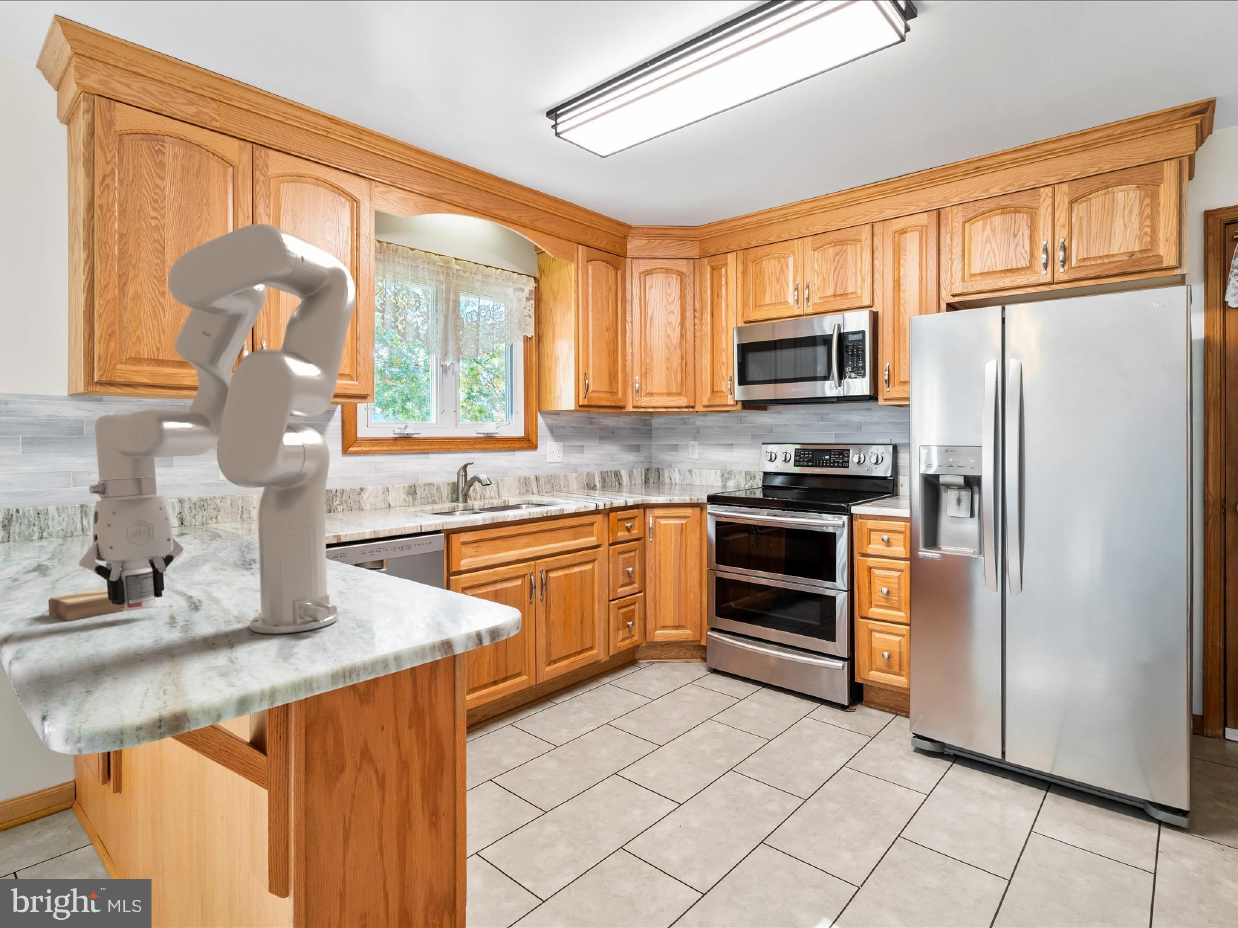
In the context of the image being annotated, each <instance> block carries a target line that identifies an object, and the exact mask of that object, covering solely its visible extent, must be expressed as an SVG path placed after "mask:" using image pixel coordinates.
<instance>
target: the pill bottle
mask: <svg viewBox="0 0 1238 928" xmlns="http://www.w3.org/2000/svg"><path fill="white" fill-rule="evenodd" d="M119 576H120V580H123V585H124V598H125V603H124V604H122V605H120V609H121V610H123V611H122V612H124V611H126V612H130V611H131V612H132V611H140V610H144V609H148V608H151V607H154V606H155V605H156V597H155V594H154V582H153V570H152V568H151V567H150V566H149V557H148V558H142V559H135V560H128V561H122V565H121V570H120V574H119Z"/></svg>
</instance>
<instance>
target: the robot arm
mask: <svg viewBox="0 0 1238 928" xmlns="http://www.w3.org/2000/svg"><path fill="white" fill-rule="evenodd" d="M167 283H168V289H169V291H170V292H169V293H170V294H171V295H172V297H173V298H174V299H175V300H176V301H177V302H178V303H179V304H181V305H183V306H185V307H188V308H191V309H190V311H189V313H188V315H187V317H186V319H185V321H184V324H183V325H182V327H181V329H180V331H179V333H178V335H177V338H176V339H175V341H174V343H173V344H174V349H175V352H176V353H177V355H178V356H179V357H180V358H182V359H183V360H184V361H185V362H187V363H188V364H190V365H191V366H193V368H194V369H195V371H196V374H197V378H198V387H197V390H196V391H197V392H196V394H195V397H194V399H193V401H192V402H191V405H190V407H189V408H188V410H174V409H173V410H171V409H167V410H163V409H162V410H161V409H146V410H138V411H136V412H131V413H125V414H123V413H122V414H121V413H120V414H119V413H117V414H105V415H101V416H100V417H98V418H97V419H96V420H95V422H94V432H95V442H96V443H95V445H96V455H97V456H96V457H97V469H98V471H97V472H98V481H97V484H92V485H89V487H88V488H89V489H88V491H89V493H90V494H91V495H93V494H95V495H98V497H99V498H100V500H96V502H95V506H94V512H93V521H92V545H91V546H90V547H89V548H88V550H87V551H86V553H85V554H84V555H83V556H82V558H81V559H80V561H79V563H78V564H79V566H81V567H82V568H85V569H87V570H89V571H92V572H94V574H97V575H98V576H99V577H101V578H102V579H104V580H106V587H107V589H106V590H108V599H109V600H110V601H111V602H112V604H116V605H122V604H124V603H125V598H124V585H123V580H120V576H119V574H120V570H121V565H122V561H128V560H135V559H142V558H148V557H149V564H148V566H149V567H151V568H152V570H153V582H154V594H155V598H162V597H163V591H164V590H165V581H164V580H165V579H164V578H165V577H164V573H165V572H166V571H167V568H168V567H169V566H170V564H171V563H173V561H174V560H175V558H177V557H178V556H179V555H180V554H182V552H183V551H184V547H183V546H182V545H181V544H180V543H179V542H178V541H177V540H176V539H175V538H174V537H173V532H172V531H173V530H172V524H171V520H170V514H169V511H168V508H167V504H166V501H165V499H164V496H163V495H158V493H157V492H158V490H157V478H156V475H157V474H156V463H155V458H169V457H170V458H171V457H185V456H186V457H190V456H192V457H194V456H201V455H203V454H206V453H208V452H209V451H211V450H212V449H213V448H214V447H215V446H216V445H217V446H216V459H217V463H218V464H217V465H218V467H219V469H220V471H221V474H222V475H223V476H224V477H225V478H226V480H227V481H229V482H230V483H232V484H233V485H236V486H238V487H242V488H250V489H251V488H263V491H262V494H261V497H260V500H259V505H258V506H259V507H258V511H257V514H258V515H257V521H258V522H257V524H258V526H257V527H258V530H257V531H258V557H259V558H258V561H259V562H258V563H259V588H260V590H259V591H260V592H259V593H260V615H258V616H255V617H254V618H253V617H252V619H251V620H249V621H250V622H249V626H250V628H249V629H250V630H251V631H253V632H256V633H261V634H272V635H273V634H288V633H289V634H291V633H299V632H304V631H311V630H316V629H319V628H323V627H326V626H329V625H331V624H333V623H335V622H337V621H338V619H339V611H338V608H337V606H336V605H334V604H330V594H328V583H327V581H328V578H327V575H328V574H327V573H328V572H327V548H326V547H327V545H326V544H327V543H326V542H327V541H326V539H327V538H326V488H327V480H328V475H329V467H330V450H329V446H328V443H327V441H326V440H325V438H324V437H323V436H322V434H321V433H319V432H318V431H317V430H316V429H314V428H312V427H310V426H306V425H304V424H300V423H291V422H290V423H288V422H289V418H290V417H298V418H299V417H301V418H302V417H316V416H319V415H322V414H323V413H324V412H326V411H327V410H328V409H329V408H330V405H331V404H332V402H333V398H334V395H335V391H336V386H337V382H338V377H339V373H340V367H341V364H342V359H343V355H344V349H345V342H346V338H347V334H348V331H349V326H350V323H351V320H352V317H353V313H354V309H355V304H356V287H355V282H354V280H353V277H352V275H351V274H350V272H349V271H348V269H347V267H346V266H345V264H343V263H342V262H341V261H340V260H339V259H338V258H336V257H335V256H334V255H332V254H331V253H330V252H328V251H327V250H325V249H323V248H321V247H319V246H318V245H316V244H314V243H312V242H309V240H305V239H303V238H301V237H298V236H296V235H294V234H293V233H290V232H288V231H286V230H284V229H282V228H278V227H276V226H273V225H272V224H264V223H254V224H248V225H245V226H242V227H239V228H236V229H235V230H233V231H230V232H228V233H225V234H223V235H220V236H218V237H215V238H213V239H211V240H209V241H207V242H204V243H202V244H199V245H197V246H195V247H193V248H191V249H190V250H188V251H186V252H184V253H183V254H182V255H181V256H180V257H178V258H177V260H176V261H174V263H173V265H172V266H171V268H170V271H169V273H168V279H167ZM266 287H269V288H273V289H275V290H277V291H281V292H284V293H287V294H290V295H294V296H296V297H298V299H300V303H299V304H298V305H297V306H296V307H295V308H294V310H293V312H292V313H291V315H290V317H289V318H288V321H287V324H286V326H285V327H286V328H285V331H284V332H285V333H284V338H283V341H282V346H281V348H280V349H275V348H274V349H273V348H263V349H262V348H261V349H258V350H255V351H252V352H250V353H249V354H248V355H246V356H244V358H242V360H241V361H239V363H238V364H237V366H236V368H235V369H234V371H233V367H234V365H235V363H236V361H237V359H238V357H239V355H240V352H241V350H242V349H243V346H244V345H245V343H246V341H247V338H248V336H249V335H250V333H251V331H252V328H253V327H254V325H255V323H256V321H257V319H258V316H259V315H260V313H261V311H262V308H263V306H264V305H265V302H266V300H267V299H266V298H267V288H266ZM96 560H97V561H100V562H105V564H104V565H102V564H100V563H98V562H96Z"/></svg>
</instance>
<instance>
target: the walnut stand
mask: <svg viewBox="0 0 1238 928" xmlns="http://www.w3.org/2000/svg"><path fill="white" fill-rule="evenodd" d="M47 603H48V615H49V616H51V617H54V618H56V619H59V620H63V621H66V622H71V621H76V620H82V619H86V618H92V617H97V616H103V615H108V614H113V613H119V612H124V611H123V610H121V609H120V605H116V604H112V602H111V601H110V600H109V599H108V590H107V589H104V588H101V589H95V590H90V591H89V590H88V591H83V592H77V593H69V594H64V595H58V596H57V595H56V596H53V597H50V598H49V599H48V602H47Z"/></svg>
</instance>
